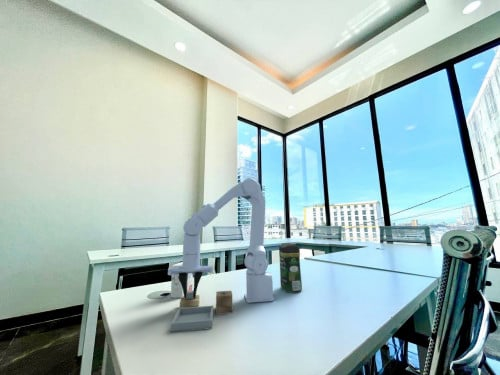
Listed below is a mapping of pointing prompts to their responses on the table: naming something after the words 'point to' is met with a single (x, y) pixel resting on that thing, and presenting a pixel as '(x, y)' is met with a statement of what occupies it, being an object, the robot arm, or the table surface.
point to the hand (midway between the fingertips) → (190, 296)
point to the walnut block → (223, 302)
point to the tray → (193, 319)
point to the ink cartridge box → (176, 285)
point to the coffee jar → (290, 267)
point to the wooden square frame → (189, 302)
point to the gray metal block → (189, 295)
